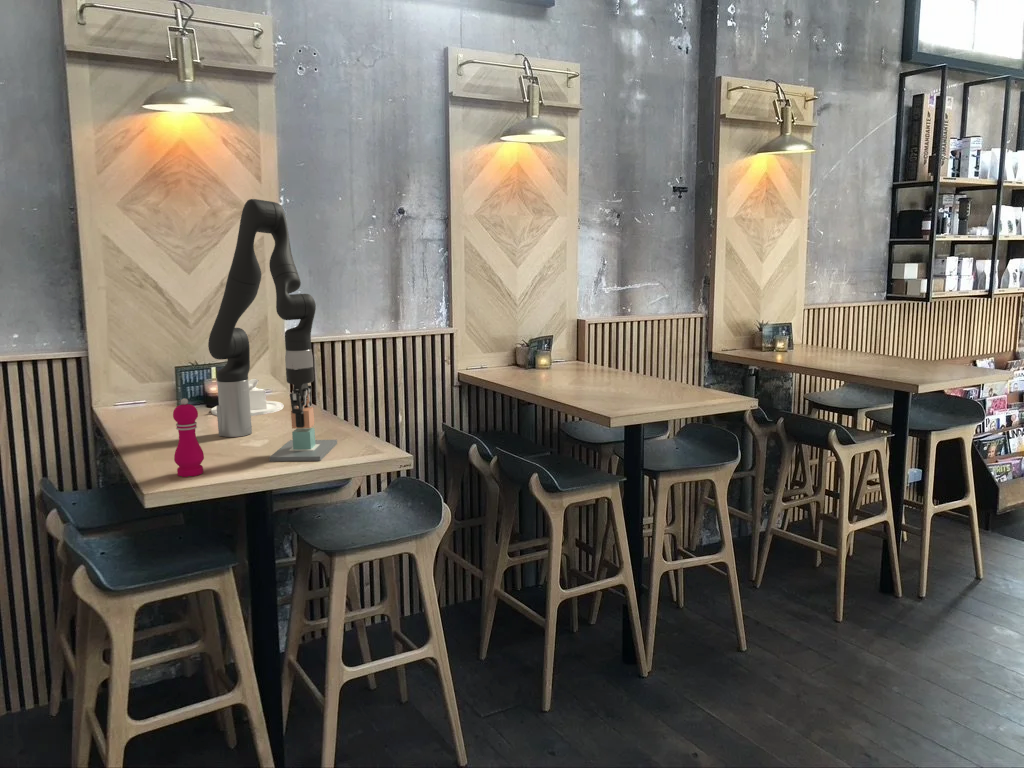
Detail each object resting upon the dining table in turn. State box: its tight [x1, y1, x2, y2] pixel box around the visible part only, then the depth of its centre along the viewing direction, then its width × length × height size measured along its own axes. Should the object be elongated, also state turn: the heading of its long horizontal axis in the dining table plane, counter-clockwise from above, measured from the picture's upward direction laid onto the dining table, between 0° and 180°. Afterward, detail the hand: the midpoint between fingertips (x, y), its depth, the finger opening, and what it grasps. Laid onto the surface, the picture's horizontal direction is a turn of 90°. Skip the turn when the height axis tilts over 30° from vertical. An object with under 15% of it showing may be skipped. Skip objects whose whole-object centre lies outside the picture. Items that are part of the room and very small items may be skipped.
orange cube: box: [290, 406, 315, 430], centre depth 240 cm, size 5×5×5 cm
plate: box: [268, 439, 338, 462], centre depth 241 cm, size 14×20×1 cm
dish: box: [210, 378, 285, 417], centre depth 305 cm, size 25×25×11 cm
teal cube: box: [291, 427, 316, 449], centre depth 241 cm, size 5×5×5 cm
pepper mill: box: [172, 397, 205, 478], centre depth 219 cm, size 7×7×20 cm
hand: (303, 424), depth 240 cm, fingers closed on orange cube, 5 cm apart
